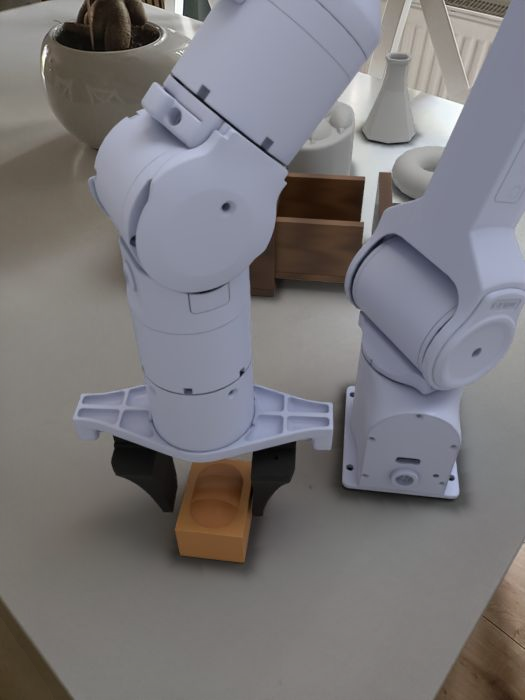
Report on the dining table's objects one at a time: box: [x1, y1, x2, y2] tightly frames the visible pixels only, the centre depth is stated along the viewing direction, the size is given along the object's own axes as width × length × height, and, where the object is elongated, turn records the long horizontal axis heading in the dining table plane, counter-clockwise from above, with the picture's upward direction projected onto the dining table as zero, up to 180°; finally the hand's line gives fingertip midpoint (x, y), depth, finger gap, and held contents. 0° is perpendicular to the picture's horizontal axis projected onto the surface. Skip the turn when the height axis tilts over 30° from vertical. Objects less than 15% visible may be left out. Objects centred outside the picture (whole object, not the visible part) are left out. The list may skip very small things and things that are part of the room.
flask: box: [361, 51, 417, 144], centre depth 81 cm, size 7×7×10 cm
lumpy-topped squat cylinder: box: [288, 100, 356, 176], centre depth 72 cm, size 10×13×9 cm
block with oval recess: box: [174, 458, 253, 564], centre depth 40 cm, size 6×4×4 cm
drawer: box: [275, 171, 402, 284], centre depth 60 cm, size 17×10×7 cm, turn 82°
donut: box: [391, 145, 445, 200], centre depth 72 cm, size 10×4×10 cm
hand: (214, 501), depth 41 cm, fingers open, 5 cm apart
